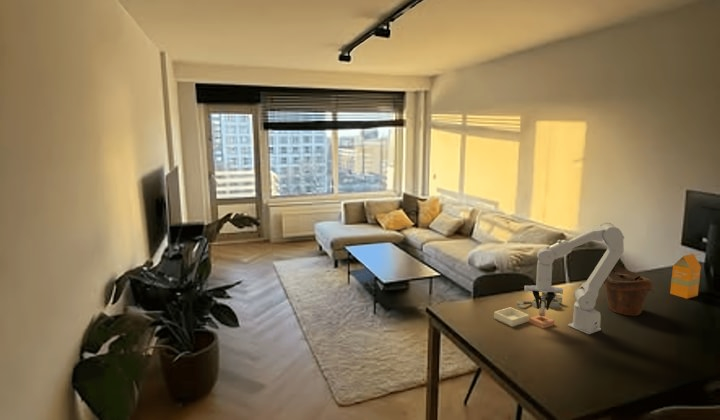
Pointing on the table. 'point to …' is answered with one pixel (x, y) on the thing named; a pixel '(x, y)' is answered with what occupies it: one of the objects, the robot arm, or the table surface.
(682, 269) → the orange juice
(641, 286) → the terracotta flower pot
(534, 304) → the pulley system
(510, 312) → the tray
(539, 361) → the table surface
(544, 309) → the pin
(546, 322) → the block
